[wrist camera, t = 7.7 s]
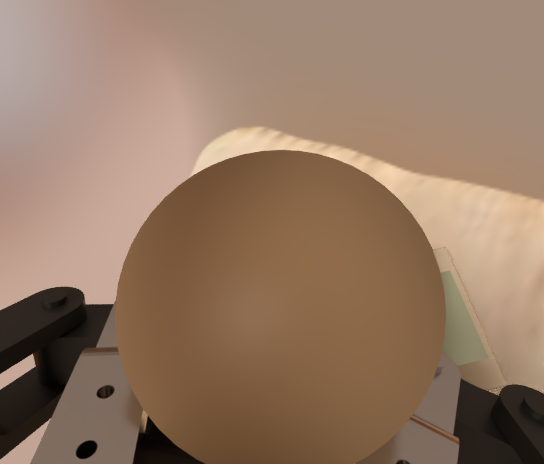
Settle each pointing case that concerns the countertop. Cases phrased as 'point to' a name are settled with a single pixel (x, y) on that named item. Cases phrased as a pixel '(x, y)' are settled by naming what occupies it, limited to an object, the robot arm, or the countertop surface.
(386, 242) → the walnut roller
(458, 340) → the birch board
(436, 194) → the countertop surface
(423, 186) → the countertop surface
